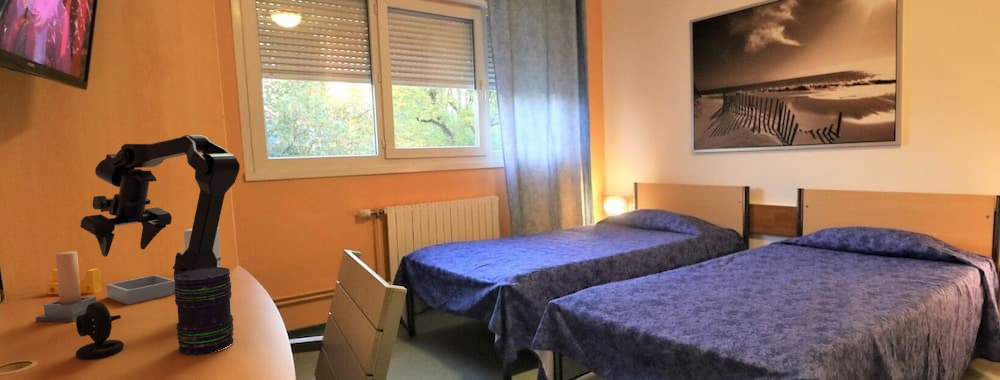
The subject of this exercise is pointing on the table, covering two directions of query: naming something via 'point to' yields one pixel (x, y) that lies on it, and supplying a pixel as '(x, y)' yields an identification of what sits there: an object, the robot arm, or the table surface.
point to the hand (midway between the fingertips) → (124, 252)
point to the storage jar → (203, 310)
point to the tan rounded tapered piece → (68, 277)
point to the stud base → (65, 310)
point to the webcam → (97, 332)
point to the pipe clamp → (86, 286)
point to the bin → (140, 289)
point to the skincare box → (215, 248)
